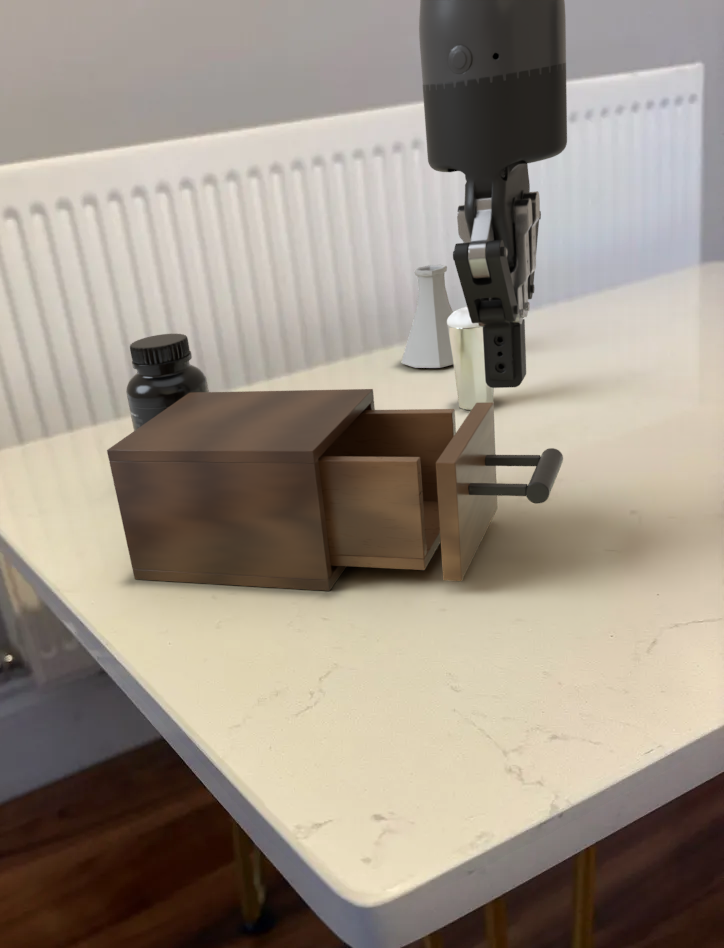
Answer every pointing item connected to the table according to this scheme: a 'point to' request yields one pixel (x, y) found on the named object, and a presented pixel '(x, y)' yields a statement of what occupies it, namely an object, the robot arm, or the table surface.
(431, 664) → the table surface
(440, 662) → the table surface
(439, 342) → the flask
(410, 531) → the drawer
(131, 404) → the supplement bottle
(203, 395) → the cabinet
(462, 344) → the milkshake
